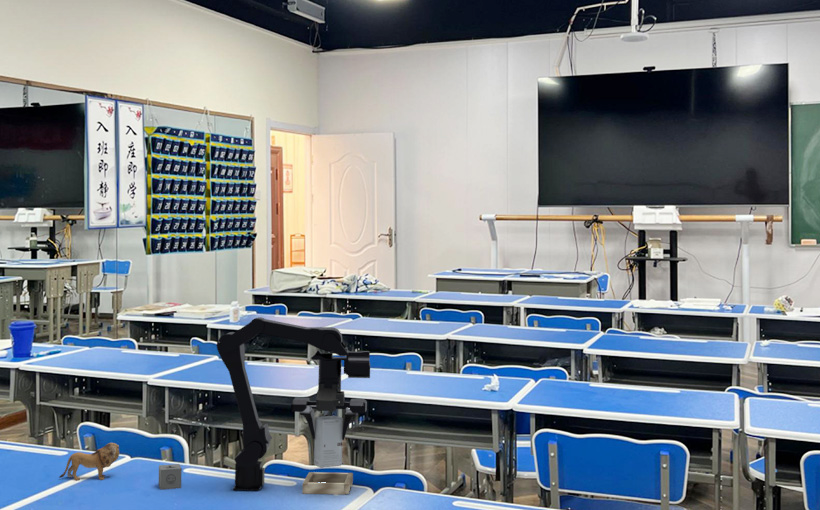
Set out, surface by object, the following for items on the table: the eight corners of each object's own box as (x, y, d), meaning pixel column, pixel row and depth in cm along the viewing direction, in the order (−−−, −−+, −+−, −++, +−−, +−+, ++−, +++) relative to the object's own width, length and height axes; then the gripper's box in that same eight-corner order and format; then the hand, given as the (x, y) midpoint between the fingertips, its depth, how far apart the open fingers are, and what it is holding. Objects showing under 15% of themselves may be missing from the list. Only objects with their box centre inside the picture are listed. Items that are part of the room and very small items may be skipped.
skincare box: (321, 468, 207) (322, 419, 207) (313, 464, 211) (314, 416, 211) (343, 465, 210) (344, 417, 210) (334, 462, 214) (335, 414, 214)
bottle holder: (302, 493, 205) (302, 483, 205) (308, 481, 216) (309, 472, 216) (348, 494, 204) (348, 484, 204) (352, 482, 216) (352, 472, 216)
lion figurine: (119, 474, 221) (120, 440, 221) (117, 479, 216) (118, 444, 216) (60, 477, 217) (61, 442, 218) (57, 482, 212) (57, 446, 212)
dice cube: (160, 490, 206) (160, 469, 207) (158, 485, 211) (158, 465, 211) (181, 488, 208) (181, 468, 208) (178, 483, 213) (179, 463, 213)
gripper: (287, 381, 203) (286, 445, 203) (364, 382, 202) (363, 447, 202) (294, 375, 214) (293, 436, 214) (367, 376, 214) (366, 437, 213)
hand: (328, 439), depth 210 cm, fingers closed on skincare box, 7 cm apart
